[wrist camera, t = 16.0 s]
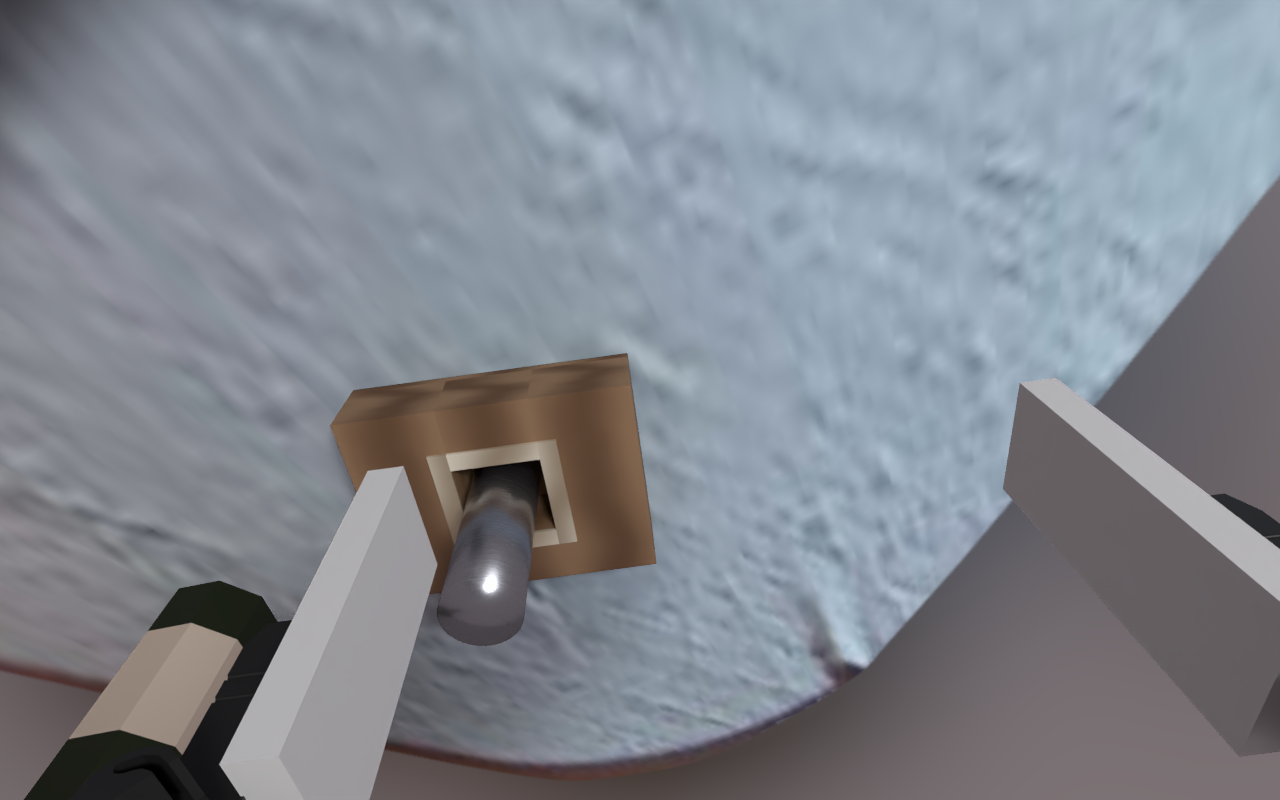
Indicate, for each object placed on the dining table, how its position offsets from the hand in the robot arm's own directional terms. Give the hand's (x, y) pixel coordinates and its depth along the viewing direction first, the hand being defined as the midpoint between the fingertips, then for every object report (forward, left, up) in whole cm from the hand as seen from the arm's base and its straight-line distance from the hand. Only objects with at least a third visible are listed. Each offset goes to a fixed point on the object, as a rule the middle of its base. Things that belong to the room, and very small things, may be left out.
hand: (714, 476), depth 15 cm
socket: (-11, -17, -29) cm, 35 cm away
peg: (-11, -17, -28) cm, 35 cm away
